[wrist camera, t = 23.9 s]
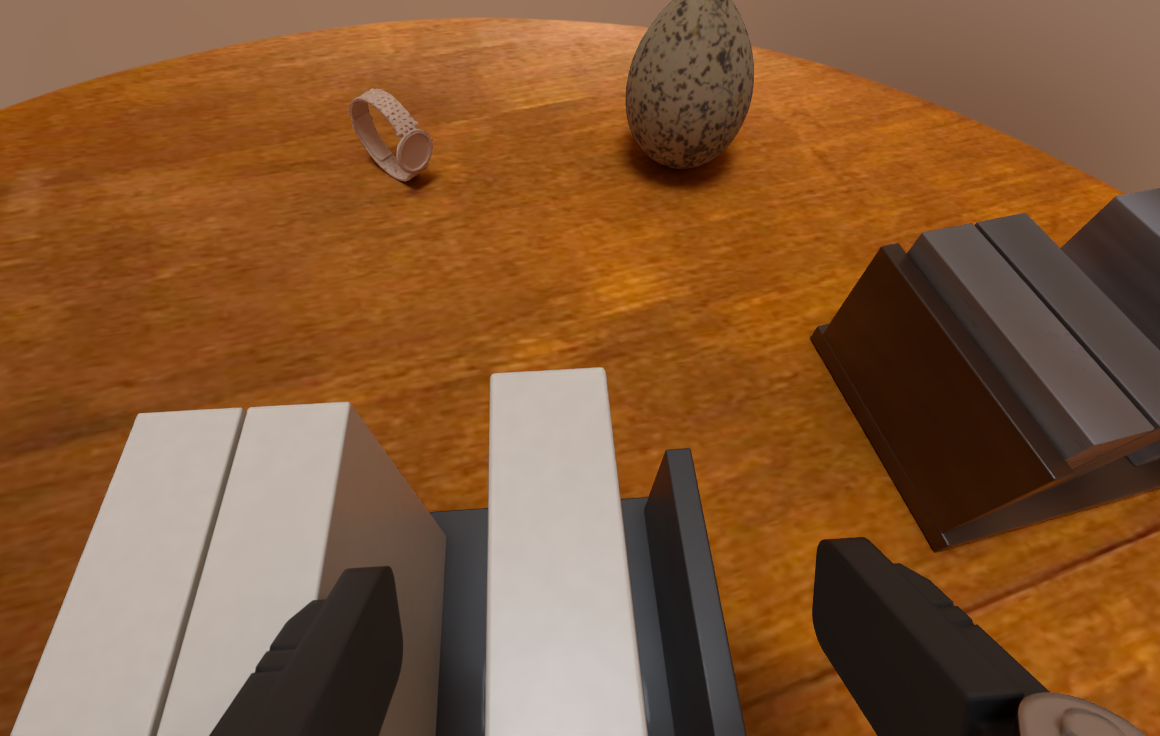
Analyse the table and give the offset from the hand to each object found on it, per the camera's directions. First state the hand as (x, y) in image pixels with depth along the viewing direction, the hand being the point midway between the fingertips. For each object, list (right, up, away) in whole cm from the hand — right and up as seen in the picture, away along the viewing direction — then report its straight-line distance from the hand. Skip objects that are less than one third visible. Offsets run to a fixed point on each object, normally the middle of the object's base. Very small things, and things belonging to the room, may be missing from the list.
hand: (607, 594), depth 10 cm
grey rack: (+19, +3, +16) cm, 25 cm away
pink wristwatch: (-12, +16, +24) cm, 32 cm away
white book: (-1, -6, +9) cm, 11 cm away
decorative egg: (+6, +18, +25) cm, 31 cm away
